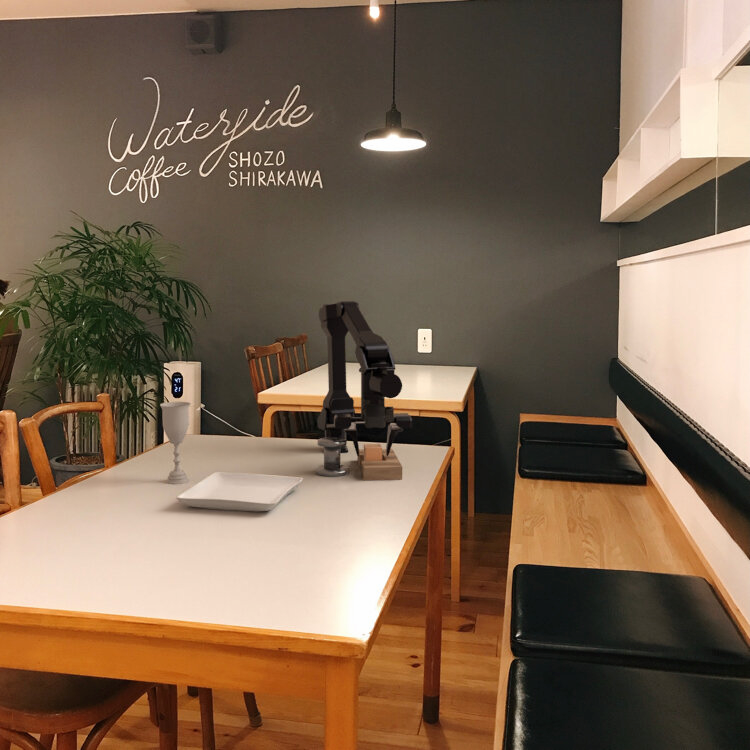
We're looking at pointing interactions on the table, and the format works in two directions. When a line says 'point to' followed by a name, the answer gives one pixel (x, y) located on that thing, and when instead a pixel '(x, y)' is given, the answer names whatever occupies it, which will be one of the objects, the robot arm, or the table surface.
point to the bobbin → (332, 457)
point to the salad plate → (239, 491)
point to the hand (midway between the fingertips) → (372, 455)
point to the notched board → (380, 467)
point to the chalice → (176, 434)
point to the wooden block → (372, 452)
